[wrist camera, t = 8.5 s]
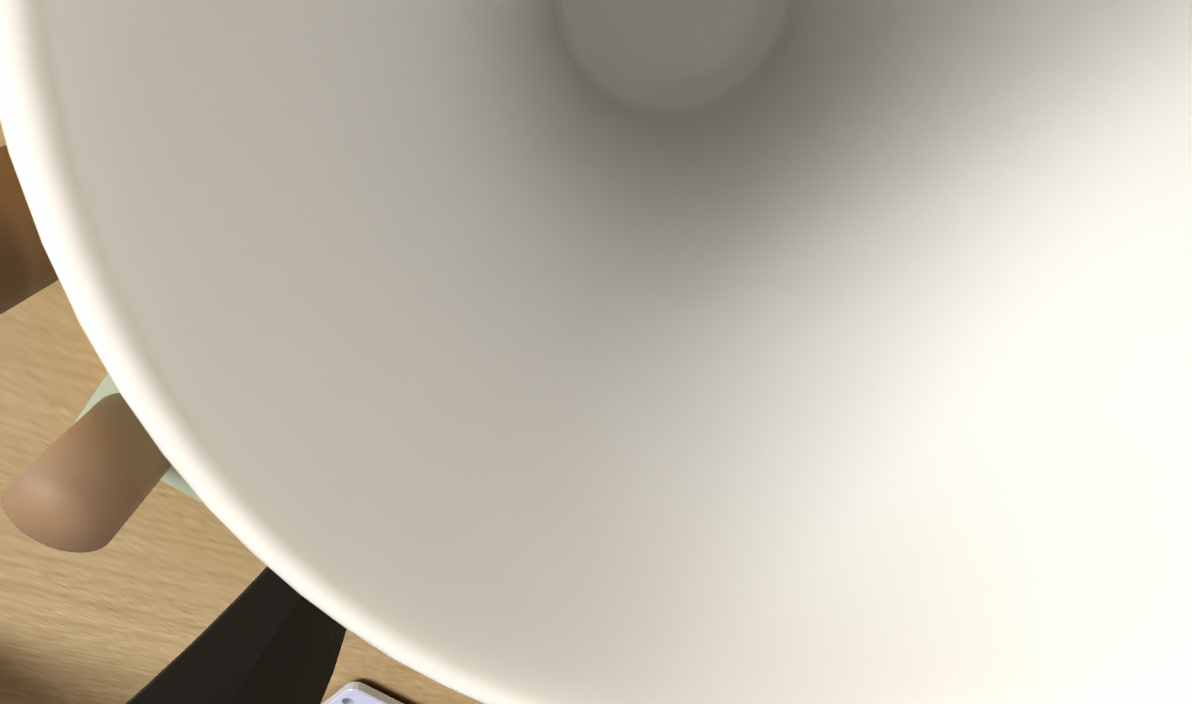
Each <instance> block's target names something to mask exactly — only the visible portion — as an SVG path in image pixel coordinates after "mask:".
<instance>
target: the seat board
mask: <svg viewBox="0 0 1192 704" xmlns="http://www.w3.org/2000/svg"><path fill="white" fill-rule="evenodd" d="M160 480H161V481H163V482H165V483H167V484H169V485H170V486H172V487H174V488H176V489H178V490H179V491H181V492H183V493H185V494H187V495H189V496H190V497H192V498H194V499H196V500H198V501H199V502H201V503H203V502H202V501H201V499H200V498H199V497H198V496H197V495H196V493H195V492H194V491H193V490H192V489H191V487H190V486H189V485H188V484H187V483H186V481H185V480H184V479H183V478H182V477H181V475H180V474H179V473H178V472H177V471H176V469H175V468H174V467H173V466H172V465H171V463H170V462H169V461H168V460H167V459H166V457H165V456H164V455H163V454H162V452H161V451H160V450H159V448H158V447H157V445H156V444H155V442H154V441H153V440H152V438H151V437H150V435H149V434H148V432H147V431H146V430H145V428H144V427H143V425H142V424H141V422H140V421H139V420H138V418H137V417H136V415H135V414H134V412H133V411H132V410H131V408H130V407H129V405H128V404H127V403H126V401H125V400H124V398H123V397H122V395H121V394H120V393H119V391H118V389H117V387H116V386H115V384H114V382H113V381H112V379H111V377H110V375H109V374H107V375H106V377H105V378H104V380H103V381H102V383H101V384H100V386H99V387H98V389H97V390H96V392H95V393H94V395H93V396H92V398H91V399H90V401H89V402H88V403H87V405H86V406H85V408H84V409H83V411H82V412H81V414H80V415H79V417H78V418H77V420H76V421H75V423H74V424H73V426H72V427H71V428H69V429H68V430H67V431H66V432H65V433H64V434H63V435H62V436H61V437H60V438H59V439H58V440H56V441H55V442H54V443H53V444H52V445H51V446H50V447H49V448H48V449H47V450H46V451H45V452H43V453H42V454H41V455H40V456H39V457H38V458H37V459H36V460H35V461H34V462H33V463H32V464H30V465H29V466H28V467H27V468H26V469H25V470H24V471H23V472H22V473H21V474H20V475H19V476H17V477H16V478H15V479H14V480H13V481H12V482H11V483H10V484H9V485H8V486H7V487H6V488H5V490H4V492H3V495H2V505H3V508H4V511H5V513H6V514H7V516H8V518H9V519H10V520H11V522H12V523H13V524H14V525H15V526H16V527H17V528H18V529H20V530H21V531H22V532H23V533H25V534H26V535H27V536H29V537H31V538H32V539H34V540H36V541H38V542H40V543H42V544H44V545H46V546H49V547H52V548H55V549H59V550H63V551H68V552H80V553H81V552H91V551H95V550H98V549H101V548H103V547H104V546H106V545H107V544H108V543H109V542H110V541H111V539H112V538H113V537H114V536H115V534H116V533H117V532H118V531H119V530H120V528H121V527H122V526H123V525H124V523H125V522H126V521H127V520H128V519H129V517H130V516H131V515H132V514H133V512H134V511H135V510H136V509H137V508H138V506H139V505H140V504H141V503H142V501H143V500H144V499H145V498H146V496H147V495H148V494H149V493H150V492H151V490H152V489H153V488H154V487H155V485H156V484H157V483H158V482H159V481H160ZM203 504H204V503H203Z"/></svg>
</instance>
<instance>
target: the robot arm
mask: <svg viewBox="0 0 1192 704" xmlns="http://www.w3.org/2000/svg"><path fill="white" fill-rule="evenodd" d="M345 632H346V628H344V627H343V626H342V625H340V624H339V623H338V622H336V621H335V620H334V619H332V618H331V617H330V616H328V615H327V614H326V613H324V612H323V611H322V610H320V609H319V608H318V607H316V606H315V605H313V604H312V603H311V602H309V601H308V600H307V599H305V598H304V597H303V596H301V595H300V594H299V593H297V592H296V591H295V590H294V589H293V588H292V587H291V586H289V585H288V584H287V583H286V582H285V581H284V580H282V579H281V578H280V577H279V576H278V575H277V574H276V573H274V572H273V571H272V570H271V569H270V568H269V567H268V566H267V567H266V568H265V569H264V570H263V571H262V573H261V574H260V575H259V576H258V577H257V578H256V579H255V580H254V581H253V582H252V583H251V584H250V585H249V586H248V587H247V588H246V589H245V591H244V592H243V593H242V594H241V595H240V596H239V597H238V598H237V599H236V600H235V601H234V602H233V603H232V604H231V605H230V606H229V607H228V608H227V609H226V610H225V611H224V612H223V613H222V614H221V615H220V616H219V617H218V618H217V619H216V620H215V621H214V622H213V623H212V624H211V625H210V626H209V627H208V628H207V629H206V630H205V631H204V632H203V633H202V634H201V635H200V636H199V637H198V638H197V639H196V640H195V641H194V642H193V643H192V644H191V645H190V646H188V647H187V648H186V649H185V650H184V651H183V652H182V653H181V654H180V655H179V656H178V657H177V658H175V659H174V660H173V661H172V662H171V663H170V664H169V665H168V666H167V667H166V668H165V669H164V670H162V671H161V672H160V673H159V674H158V675H157V676H156V677H155V678H154V679H153V680H152V681H151V682H150V683H148V684H147V685H146V686H145V687H144V688H143V689H142V690H141V691H140V692H138V693H137V694H136V695H135V696H134V697H133V698H132V699H130V700H129V701H128V702H127V703H126V704H320V703H321V700H322V698H323V696H324V693H325V691H326V688H327V686H328V684H329V681H330V679H331V676H332V674H333V671H334V668H335V665H336V662H337V658H338V655H339V652H340V649H341V645H342V642H343V639H344V635H345ZM322 704H404V703H402V702H400V701H398V700H396V699H394V698H392V697H390V696H388V695H386V694H384V693H382V692H380V691H378V690H376V689H374V688H372V687H370V686H368V685H366V684H364V683H361V682H350V683H348V684H346V685H345V686H344V687H343V688H341V689H340V690H339V691H337V692H336V693H335V694H334V695H332V696H331V697H330V698H328V699H327V700H326V701H325V702H323V703H322Z"/></svg>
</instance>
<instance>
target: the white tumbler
mask: <svg viewBox="0 0 1192 704" xmlns="http://www.w3.org/2000/svg"><path fill="white" fill-rule="evenodd" d="M0 123H1V127H2V130H3V134H4V138H5V142H6V145H7V149H8V153H9V155H10V158H11V161H12V164H13V166H14V169H15V172H16V174H17V177H18V180H19V183H20V185H21V188H22V191H23V194H24V196H25V199H26V202H27V205H28V207H29V210H30V213H31V215H32V218H33V221H34V224H35V226H36V229H37V232H38V235H39V237H40V240H41V243H42V245H43V247H44V249H45V251H46V254H47V256H48V258H49V260H50V262H51V264H52V266H53V269H54V271H55V273H56V275H57V277H58V279H59V281H60V283H61V286H62V288H63V290H64V292H65V294H66V296H67V298H68V300H69V303H70V305H71V307H72V309H73V311H74V313H75V315H76V318H77V320H78V322H79V324H80V325H81V327H82V329H83V331H84V332H85V334H86V336H87V337H88V339H89V341H90V343H91V344H92V346H93V348H94V350H95V351H96V353H97V355H98V356H99V358H100V360H101V362H102V363H103V365H104V367H105V369H106V370H107V372H108V374H109V375H110V377H111V379H112V381H113V382H114V384H115V386H116V387H117V389H118V391H119V393H120V394H121V395H122V397H123V398H124V400H125V401H126V403H127V404H128V405H129V407H130V408H131V410H132V411H133V412H134V414H135V415H136V417H137V418H138V420H139V421H140V422H141V424H142V425H143V427H144V428H145V430H146V431H147V432H148V434H149V435H150V437H151V438H152V440H153V441H154V442H155V444H156V445H157V447H158V448H159V450H160V451H161V452H162V454H163V455H164V456H165V457H166V459H167V460H168V461H169V462H170V463H171V465H172V466H173V467H174V468H175V469H176V471H177V472H178V473H179V474H180V475H181V477H182V478H183V479H184V480H185V481H186V483H187V484H188V485H189V486H190V487H191V489H192V490H193V491H194V492H195V493H196V495H197V496H198V497H199V498H200V499H201V501H202V502H203V503H204V504H205V505H206V507H207V508H208V509H209V510H210V511H211V512H212V513H213V514H214V515H215V516H216V517H217V518H218V519H219V520H220V521H221V522H222V523H223V524H224V525H225V526H226V527H227V528H228V529H229V530H230V531H231V532H232V533H233V534H234V535H235V536H236V537H237V538H238V539H239V540H240V541H241V542H242V543H243V544H244V545H245V546H246V547H247V548H248V549H249V550H250V551H251V552H252V553H253V554H254V555H255V556H256V557H257V558H258V559H259V560H261V561H262V562H263V563H264V564H265V565H266V566H268V567H269V568H270V569H271V570H272V571H273V572H274V573H276V574H277V575H278V576H279V577H280V578H281V579H282V580H284V581H285V582H286V583H287V584H288V585H289V586H291V587H292V588H293V589H294V590H295V591H296V592H297V593H299V594H300V595H301V596H303V597H304V598H305V599H307V600H308V601H309V602H311V603H312V604H313V605H315V606H316V607H318V608H319V609H320V610H322V611H323V612H324V613H326V614H327V615H328V616H330V617H331V618H332V619H334V620H335V621H336V622H338V623H339V624H340V625H342V626H343V627H344V628H346V629H347V630H349V631H350V632H352V633H354V634H355V635H357V636H358V637H360V638H361V639H363V640H365V641H366V642H368V643H369V644H371V645H373V646H374V647H376V648H377V649H379V650H380V651H382V652H384V653H385V654H387V655H388V656H390V657H392V658H393V659H395V660H397V661H398V662H400V663H402V664H404V665H406V666H408V667H410V668H411V669H413V670H415V671H417V672H419V673H421V674H423V675H424V676H426V677H428V678H430V679H432V680H434V681H436V682H438V683H439V684H441V685H443V686H445V687H448V688H450V689H452V690H454V691H456V692H459V693H461V694H463V695H465V696H468V697H470V698H472V699H474V700H476V701H479V702H481V703H483V704H1192V0H0Z"/></svg>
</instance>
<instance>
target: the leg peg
mask: <svg viewBox="0 0 1192 704" xmlns="http://www.w3.org/2000/svg"><path fill="white" fill-rule="evenodd" d="M57 280H59V279H58V277H57V275H56V273H55V271H54V269H53V266H52V264H51V262H50V260H49V258H48V256H47V254H46V251H45V249H44V247H43V245H42V243H41V240H40V237H39V235H38V232H37V229H36V226H35V224H34V221H33V218H32V215H31V213H30V210H29V207H28V205H27V202H26V199H25V196H24V194H23V191H22V188H21V185H20V183H19V180H18V177H17V174H16V172H15V169H14V166H13V164H12V161H11V158H10V155H9V153H8V149H7V145H5V146H2V147H0V314H2V313H3V312H5V311H7V310H9V309H10V308H12V307H14V306H15V305H17V304H19V303H20V302H22V301H24V300H25V299H27V298H29V297H30V296H32V295H34V294H35V293H37V292H39V291H40V290H42V289H44V288H45V287H47V286H49V285H50V284H52V283H54V282H55V281H57Z"/></svg>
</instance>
